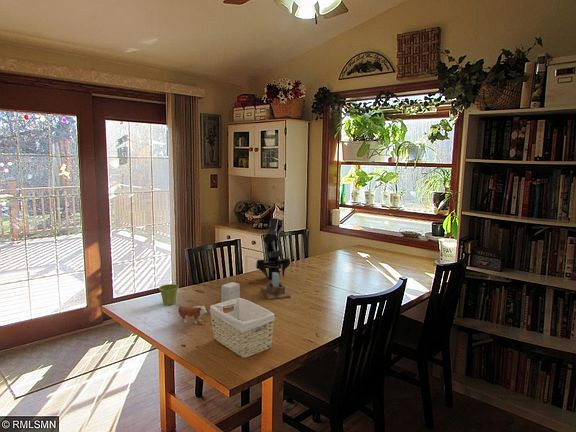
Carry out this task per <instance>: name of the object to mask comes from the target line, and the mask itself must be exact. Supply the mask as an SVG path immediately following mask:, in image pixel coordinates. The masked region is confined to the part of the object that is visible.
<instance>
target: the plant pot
mask: <svg viewBox="0 0 576 432" xmlns="http://www.w3.org/2000/svg"><path fill="white" fill-rule="evenodd" d="M178 288H179V285H177V284H176V283H175V284H173V283H171V284H170V283H169V284H163V285H161V286H159V288H158V289H159V291H160V295H161V300H162V304H163V306H172V305H175V304H176V301H177V294H178V293H177V292H178Z"/></svg>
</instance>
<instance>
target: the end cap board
mask: <svg viewBox="0 0 576 432" xmlns="http://www.w3.org/2000/svg"><path fill="white" fill-rule="evenodd" d="M261 289H262V291H263V293H264V295H265V296H266V298H267V300H274V299H275V300H276V299H288V298H289V299H290V298H291V294H289V292H288V291H287V289H286V287H285V285H283V283H282V282H281V281H279V287H274V288H272V281H271V282H266V286H261Z"/></svg>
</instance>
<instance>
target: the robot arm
mask: <svg viewBox="0 0 576 432" xmlns="http://www.w3.org/2000/svg"><path fill="white" fill-rule="evenodd" d="M268 225H269V230H268V231H266V234H265V235H264V237H263V242H264V243H263V244H264V248H265V255H266V259H265V260H264V259H257V260H256V263H255V268H256V269H257V270H259V271H261V272H262V274H263V275H264V276H265V277H266V279H268V280H272V272H278V274H279V278H281V277H280V274H281V275H282V277H285V270H286V269H287V268H289V266H290V263H291V259H290V258H288V257H287V258H282V259H281V258H280V257H282V256H283V251H282V250H281V249H279V240H280V233H281V232H282V230H283V227H284V221H283V220H281V219H280V218H278V217H277V218H275V217H272V218H270V219H269V224H268ZM278 249H279V250H278ZM280 269H281V271H280ZM267 270H268V272H267ZM280 272H281V273H280Z"/></svg>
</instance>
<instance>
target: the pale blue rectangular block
mask: <svg viewBox="0 0 576 432" xmlns="http://www.w3.org/2000/svg"><path fill="white" fill-rule="evenodd" d="M271 282H272V288H274V287H279V282H280V277H279V274H278V272H272V279H271Z"/></svg>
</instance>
